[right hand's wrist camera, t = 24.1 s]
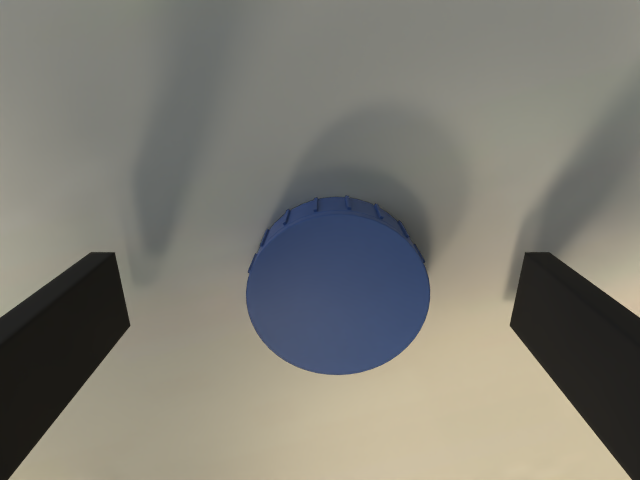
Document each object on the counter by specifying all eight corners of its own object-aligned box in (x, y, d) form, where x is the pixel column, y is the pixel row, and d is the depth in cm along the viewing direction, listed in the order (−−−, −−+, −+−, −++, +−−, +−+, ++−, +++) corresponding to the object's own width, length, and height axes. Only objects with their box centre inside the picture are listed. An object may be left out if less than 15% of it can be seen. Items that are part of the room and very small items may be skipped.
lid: (433, 203, 13) (451, 222, 11) (401, 349, 15) (411, 384, 13) (258, 185, 13) (248, 201, 11) (251, 335, 15) (241, 369, 13)
